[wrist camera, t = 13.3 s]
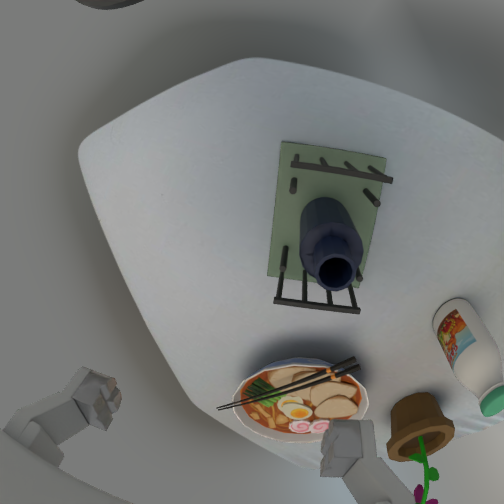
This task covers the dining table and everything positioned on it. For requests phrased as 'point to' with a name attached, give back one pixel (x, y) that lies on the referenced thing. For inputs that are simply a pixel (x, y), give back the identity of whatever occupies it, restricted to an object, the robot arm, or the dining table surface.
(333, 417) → the ramen bowl
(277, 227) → the rack
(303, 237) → the bottle
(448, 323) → the milk bottle
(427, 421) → the flowerpot
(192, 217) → the dining table surface
